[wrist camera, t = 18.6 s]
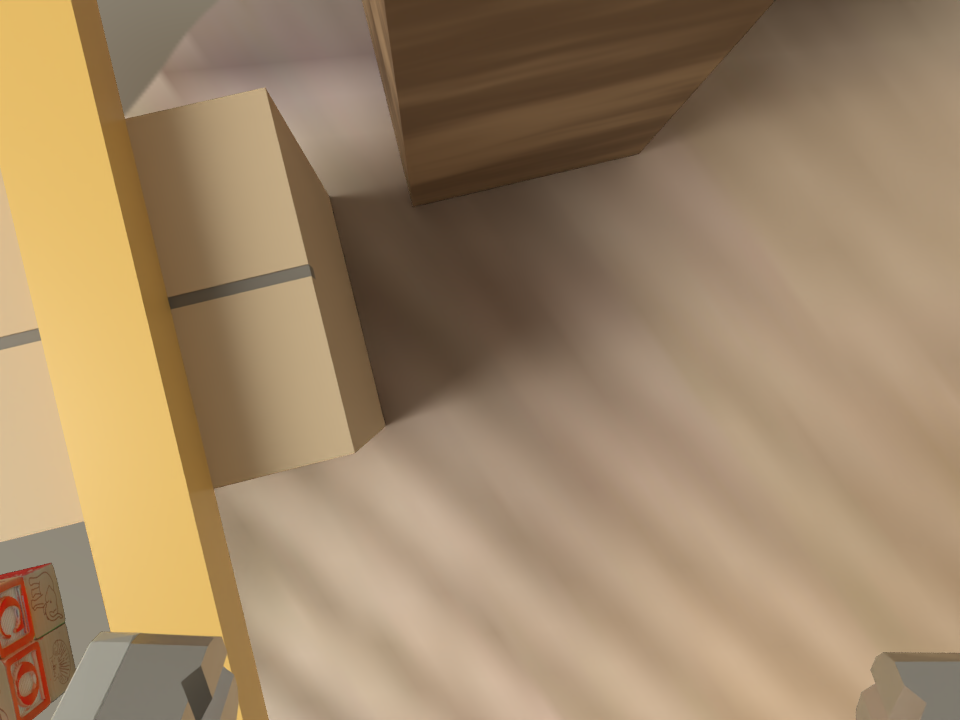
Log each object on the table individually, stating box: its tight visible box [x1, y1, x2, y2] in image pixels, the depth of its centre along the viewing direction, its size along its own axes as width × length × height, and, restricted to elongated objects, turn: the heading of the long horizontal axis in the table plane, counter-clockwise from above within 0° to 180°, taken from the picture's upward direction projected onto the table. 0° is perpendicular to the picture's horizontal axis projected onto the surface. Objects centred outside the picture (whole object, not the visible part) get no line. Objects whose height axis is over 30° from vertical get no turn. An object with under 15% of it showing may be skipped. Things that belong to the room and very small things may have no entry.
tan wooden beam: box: [0, 0, 269, 720], centre depth 25 cm, size 26×3×2 cm, turn 14°
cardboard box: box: [0, 88, 385, 542], centre depth 35 cm, size 12×12×16 cm
